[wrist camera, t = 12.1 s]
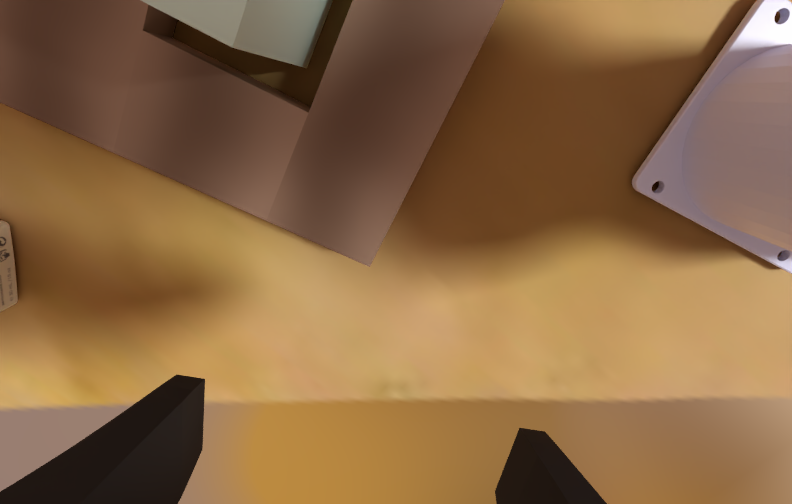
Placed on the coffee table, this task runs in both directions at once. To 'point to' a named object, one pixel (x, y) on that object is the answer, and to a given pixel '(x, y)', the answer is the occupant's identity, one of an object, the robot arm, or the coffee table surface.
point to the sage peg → (256, 24)
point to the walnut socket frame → (253, 106)
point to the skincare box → (7, 269)
